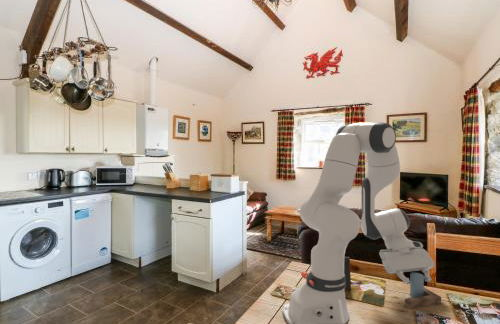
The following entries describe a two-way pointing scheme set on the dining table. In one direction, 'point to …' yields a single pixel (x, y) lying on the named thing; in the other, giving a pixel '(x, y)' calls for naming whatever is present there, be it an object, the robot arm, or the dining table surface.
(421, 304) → the stop rail
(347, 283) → the door stopper
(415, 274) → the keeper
